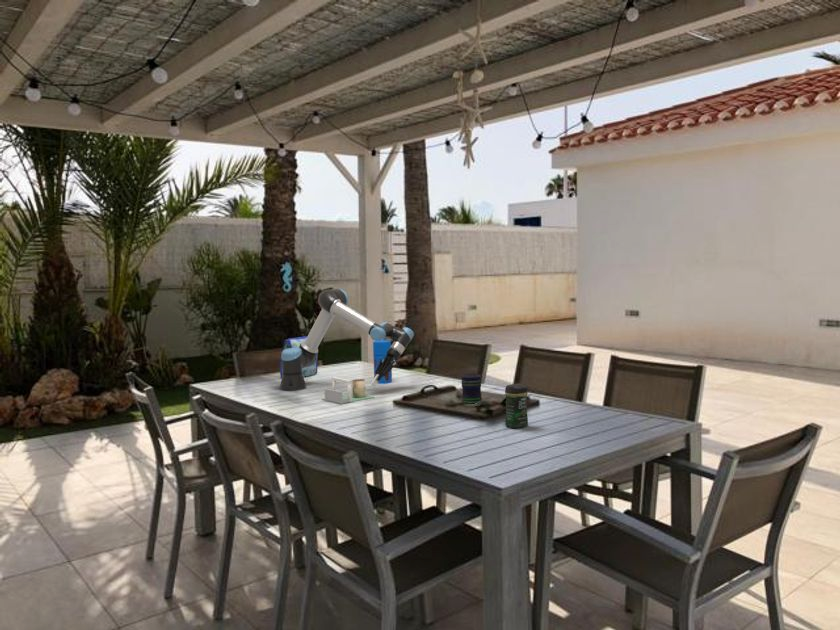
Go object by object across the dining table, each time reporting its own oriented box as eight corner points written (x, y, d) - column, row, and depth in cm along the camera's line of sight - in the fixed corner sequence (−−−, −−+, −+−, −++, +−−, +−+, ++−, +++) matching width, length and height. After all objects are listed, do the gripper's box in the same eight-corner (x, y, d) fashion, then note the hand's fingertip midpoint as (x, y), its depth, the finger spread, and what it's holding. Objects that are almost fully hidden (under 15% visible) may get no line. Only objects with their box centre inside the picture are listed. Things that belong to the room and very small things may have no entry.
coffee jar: (515, 429, 285) (514, 386, 283) (502, 426, 291) (501, 384, 290) (531, 426, 291) (530, 383, 289) (518, 423, 297) (517, 381, 295)
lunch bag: (298, 380, 427) (296, 339, 425) (278, 378, 435) (276, 338, 433) (320, 374, 446) (319, 335, 444) (301, 373, 454) (300, 334, 452)
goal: (324, 399, 360) (324, 378, 359) (335, 397, 364) (334, 377, 363) (341, 403, 348) (340, 382, 347) (352, 401, 352) (351, 380, 352)
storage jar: (471, 408, 330) (470, 377, 329) (457, 405, 337) (457, 375, 336) (485, 405, 336) (485, 375, 335) (472, 402, 344) (471, 373, 343)
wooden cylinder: (350, 396, 365) (349, 380, 365) (360, 394, 370) (360, 378, 369) (357, 398, 360) (357, 381, 359) (368, 396, 365) (367, 379, 364)
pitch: (321, 399, 362) (321, 398, 362) (355, 393, 377) (355, 392, 376) (340, 404, 349) (340, 403, 349) (374, 397, 363) (374, 397, 363)
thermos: (393, 380, 416) (391, 340, 414) (390, 383, 405) (389, 342, 403) (375, 380, 417) (374, 340, 415) (372, 383, 406) (371, 342, 404)
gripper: (406, 356, 377) (384, 390, 367) (392, 354, 387) (369, 387, 377) (398, 348, 373) (376, 382, 363) (384, 346, 383) (361, 379, 373)
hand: (372, 385), depth 370 cm, fingers closed
